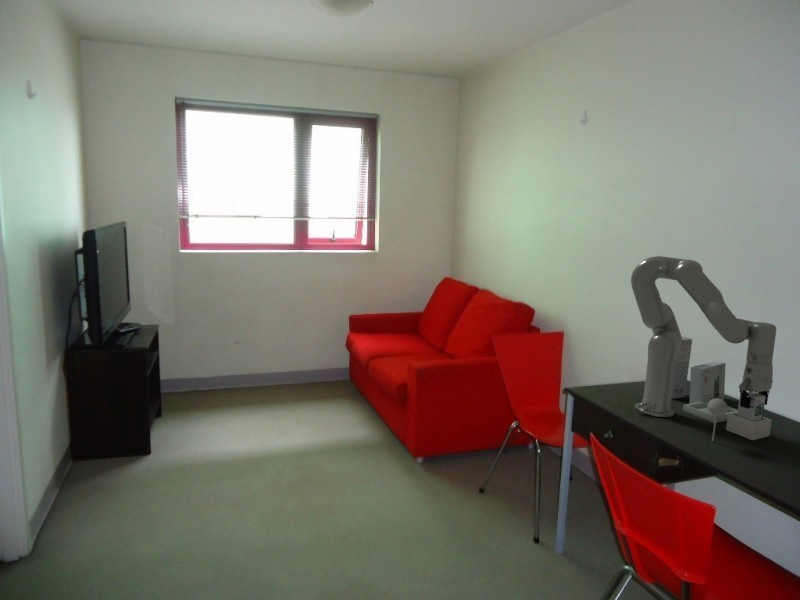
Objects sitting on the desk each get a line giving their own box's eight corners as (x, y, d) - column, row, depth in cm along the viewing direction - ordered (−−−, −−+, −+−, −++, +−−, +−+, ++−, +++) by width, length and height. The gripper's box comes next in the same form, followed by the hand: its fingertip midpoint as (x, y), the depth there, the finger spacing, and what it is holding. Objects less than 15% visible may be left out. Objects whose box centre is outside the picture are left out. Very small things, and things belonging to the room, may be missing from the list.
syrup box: (751, 437, 191) (757, 397, 189) (734, 431, 196) (740, 392, 194) (760, 434, 194) (766, 395, 191) (743, 428, 199) (749, 390, 196)
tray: (713, 423, 203) (714, 416, 203) (682, 410, 214) (683, 404, 214) (741, 417, 210) (742, 411, 210) (709, 405, 221) (710, 399, 221)
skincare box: (703, 408, 218) (702, 368, 217) (688, 406, 222) (688, 366, 221) (726, 399, 230) (725, 362, 230) (712, 397, 235) (712, 360, 234)
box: (670, 399, 228) (677, 340, 224) (653, 392, 235) (660, 335, 231) (684, 396, 231) (692, 339, 227) (667, 390, 239) (674, 334, 235)
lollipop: (722, 446, 183) (728, 403, 180) (702, 441, 186) (708, 399, 183) (722, 440, 188) (729, 398, 185) (703, 435, 191) (709, 394, 188)
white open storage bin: (752, 440, 189) (755, 423, 188) (725, 429, 197) (728, 413, 196) (769, 436, 193) (771, 419, 192) (742, 426, 201) (744, 410, 200)
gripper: (755, 363, 183) (748, 412, 186) (785, 358, 191) (779, 405, 193) (733, 357, 190) (727, 405, 193) (763, 353, 197) (757, 399, 200)
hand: (753, 405), depth 193 cm, fingers open, 9 cm apart
